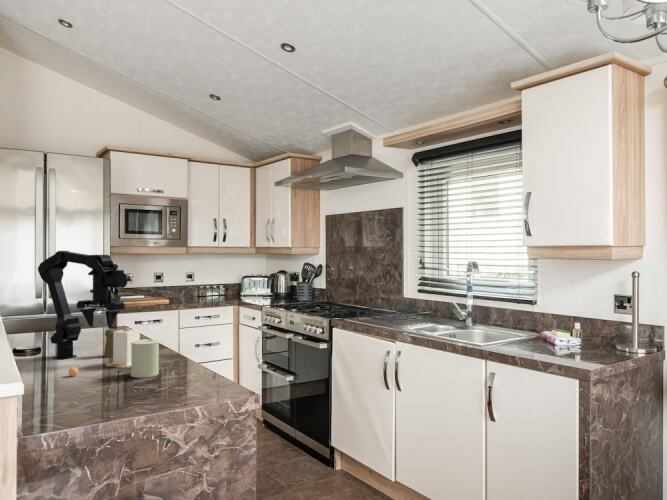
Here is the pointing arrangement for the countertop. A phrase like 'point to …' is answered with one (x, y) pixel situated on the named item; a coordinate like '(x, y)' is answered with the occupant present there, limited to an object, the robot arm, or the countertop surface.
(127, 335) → the knobbed white block
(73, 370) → the ball
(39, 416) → the countertop surface
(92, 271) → the robot arm
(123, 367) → the coaster
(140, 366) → the can
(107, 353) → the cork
